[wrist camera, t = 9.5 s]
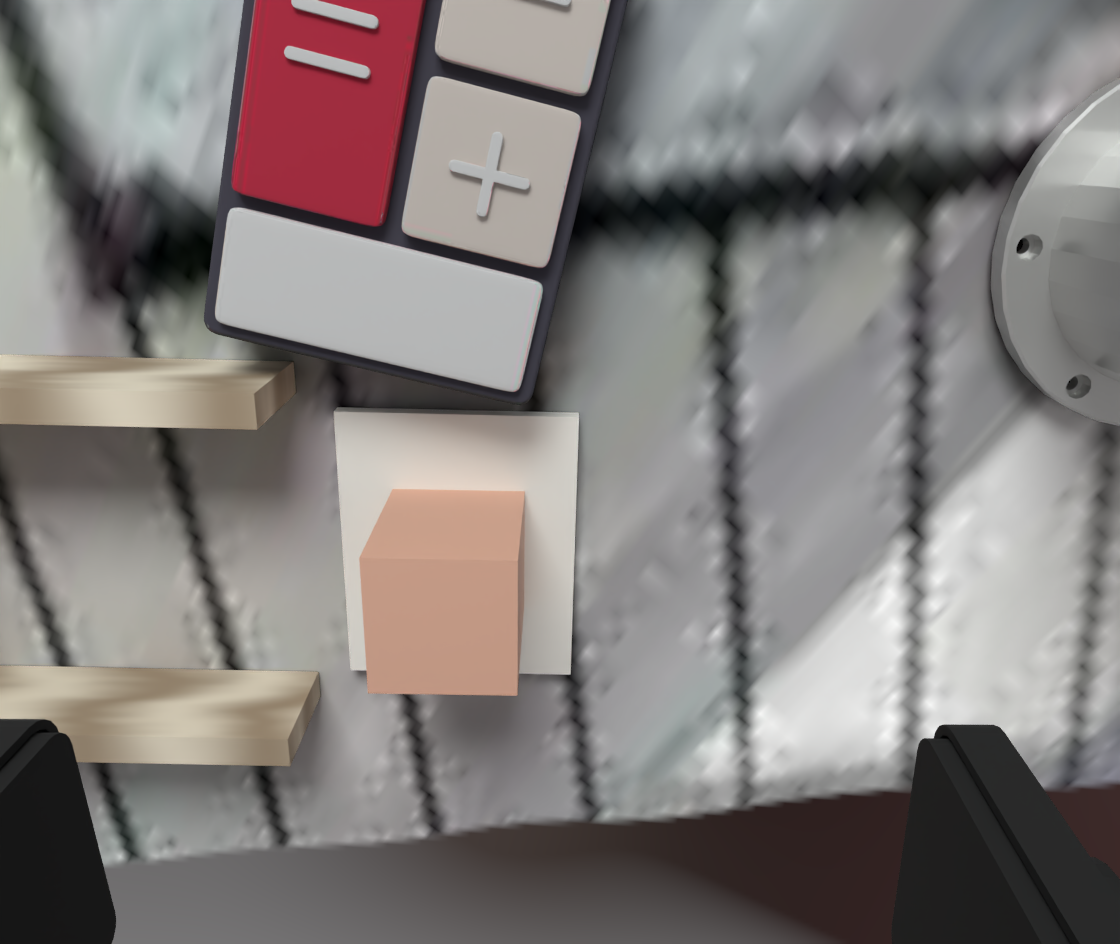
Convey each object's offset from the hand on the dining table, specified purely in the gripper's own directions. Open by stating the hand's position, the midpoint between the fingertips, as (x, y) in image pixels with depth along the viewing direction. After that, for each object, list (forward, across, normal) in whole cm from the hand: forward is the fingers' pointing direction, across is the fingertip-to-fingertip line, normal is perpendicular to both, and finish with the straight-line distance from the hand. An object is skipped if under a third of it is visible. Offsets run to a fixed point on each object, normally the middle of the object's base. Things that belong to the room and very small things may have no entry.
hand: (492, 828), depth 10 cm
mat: (+24, +4, +8) cm, 25 cm away
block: (+23, +4, +8) cm, 25 cm away
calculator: (+25, +5, -7) cm, 26 cm away
